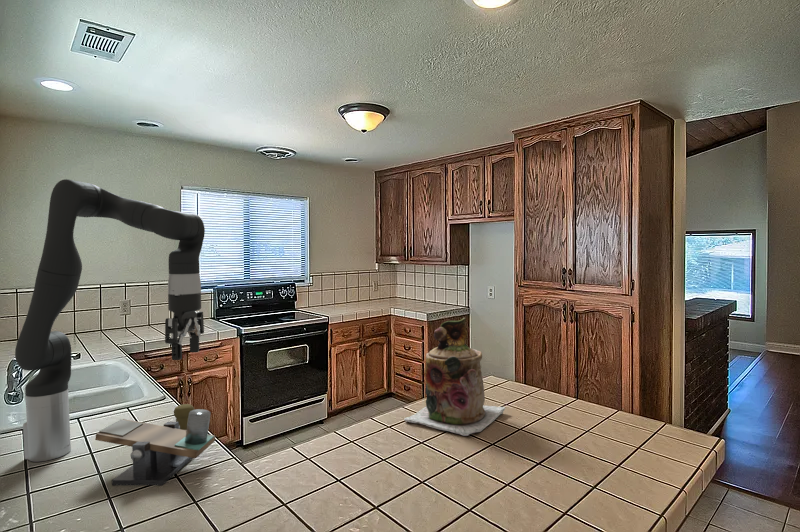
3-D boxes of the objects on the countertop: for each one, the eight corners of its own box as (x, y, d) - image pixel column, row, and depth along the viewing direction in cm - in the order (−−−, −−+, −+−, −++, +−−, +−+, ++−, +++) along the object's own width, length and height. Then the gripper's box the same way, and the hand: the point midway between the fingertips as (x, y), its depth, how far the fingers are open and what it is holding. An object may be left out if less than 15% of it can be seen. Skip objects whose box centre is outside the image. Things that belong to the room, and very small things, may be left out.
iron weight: (181, 442, 112) (185, 414, 112) (191, 434, 117) (195, 407, 117) (200, 446, 112) (204, 418, 112) (210, 438, 117) (214, 411, 117)
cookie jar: (441, 401, 162) (439, 311, 161) (507, 413, 148) (505, 315, 147) (401, 423, 142) (398, 320, 141) (473, 440, 128) (471, 326, 127)
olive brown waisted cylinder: (187, 448, 127) (186, 409, 126) (168, 447, 128) (166, 408, 128) (201, 440, 133) (200, 402, 132) (182, 438, 134) (181, 401, 133)
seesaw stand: (111, 485, 107) (110, 447, 107) (155, 453, 124) (153, 420, 124) (161, 485, 106) (160, 447, 106) (198, 453, 124) (197, 420, 123)
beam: (95, 439, 111) (96, 432, 110) (122, 424, 121) (123, 417, 120) (195, 458, 109) (196, 451, 109) (214, 441, 119) (215, 434, 119)
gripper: (185, 289, 123) (186, 349, 123) (153, 294, 109) (155, 362, 109) (212, 289, 122) (213, 349, 123) (184, 294, 108) (185, 362, 109)
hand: (186, 355), depth 116 cm, fingers open, 8 cm apart
